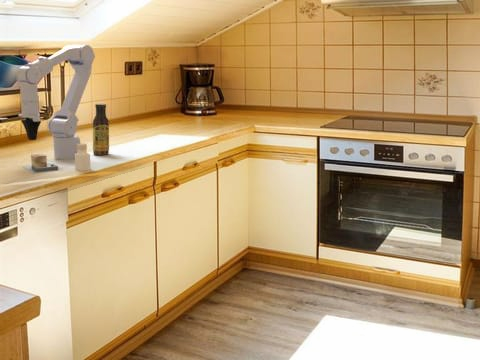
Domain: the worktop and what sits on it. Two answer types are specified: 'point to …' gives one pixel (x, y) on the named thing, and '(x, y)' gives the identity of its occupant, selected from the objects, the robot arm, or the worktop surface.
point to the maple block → (39, 160)
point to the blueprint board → (49, 168)
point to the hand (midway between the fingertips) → (32, 139)
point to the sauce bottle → (100, 131)
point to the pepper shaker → (82, 158)
